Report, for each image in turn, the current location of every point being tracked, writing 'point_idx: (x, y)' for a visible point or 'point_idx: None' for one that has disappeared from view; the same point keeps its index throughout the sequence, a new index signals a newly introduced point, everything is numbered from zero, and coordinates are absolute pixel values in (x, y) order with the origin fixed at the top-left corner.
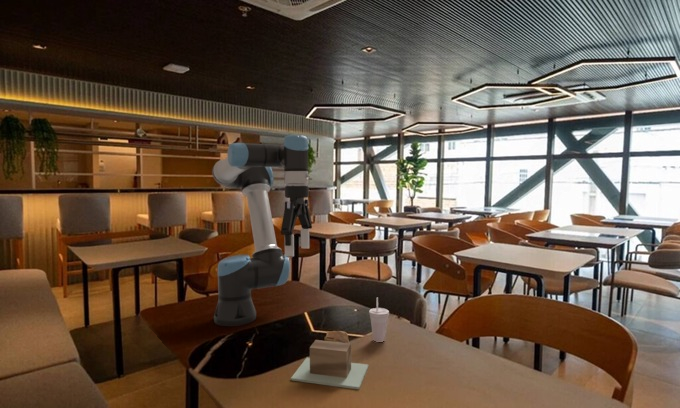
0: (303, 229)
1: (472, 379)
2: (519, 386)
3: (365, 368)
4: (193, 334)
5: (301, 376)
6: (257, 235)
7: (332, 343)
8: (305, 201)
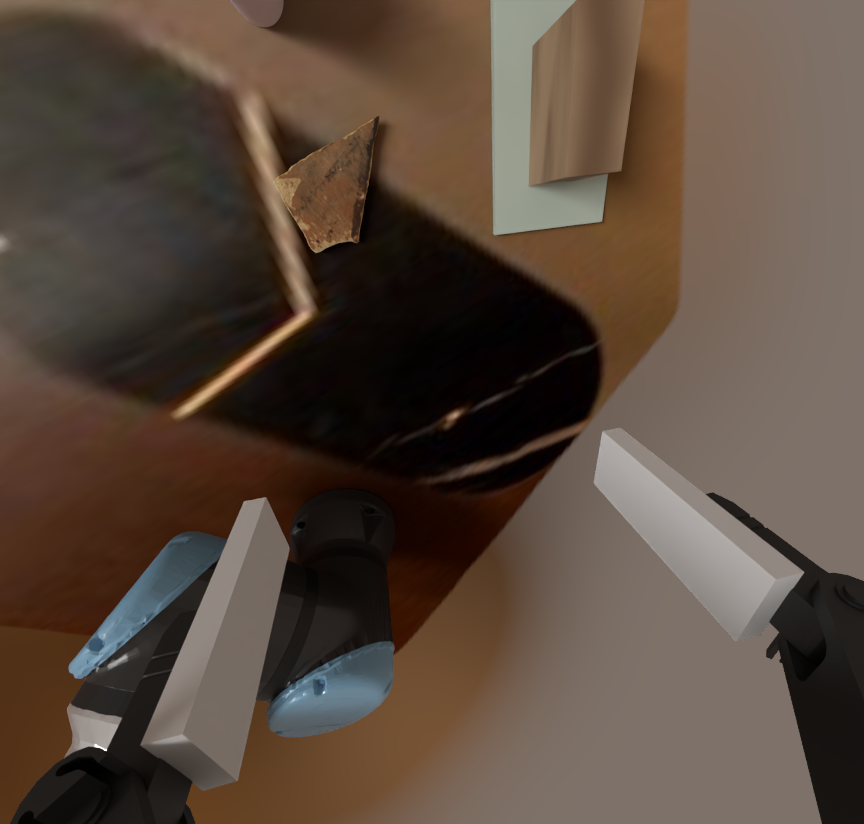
0: (221, 758)
1: None
2: None
3: None
4: (450, 533)
5: (592, 196)
6: None
7: (586, 92)
8: None
